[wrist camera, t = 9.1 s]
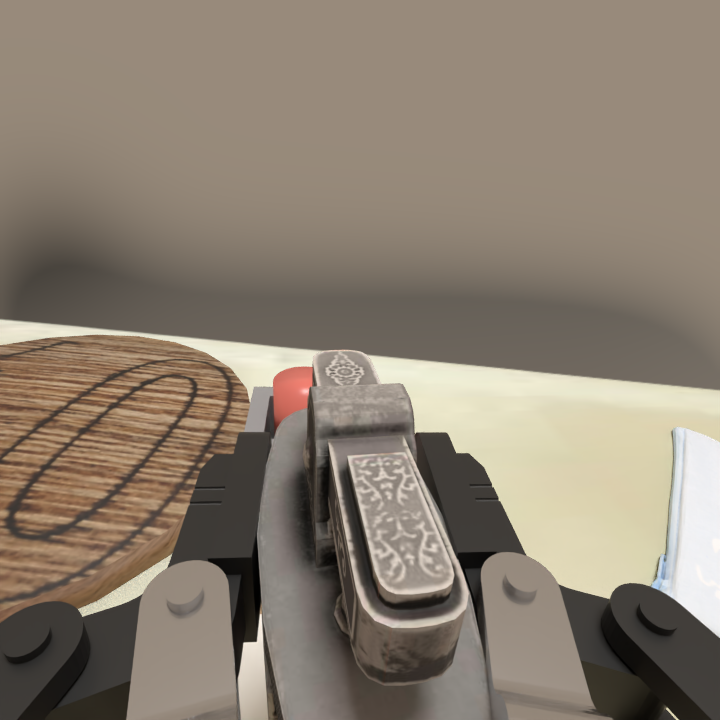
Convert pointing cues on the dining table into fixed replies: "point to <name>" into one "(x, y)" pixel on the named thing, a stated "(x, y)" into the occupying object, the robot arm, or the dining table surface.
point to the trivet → (102, 459)
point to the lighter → (361, 564)
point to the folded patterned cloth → (694, 529)
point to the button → (290, 392)
